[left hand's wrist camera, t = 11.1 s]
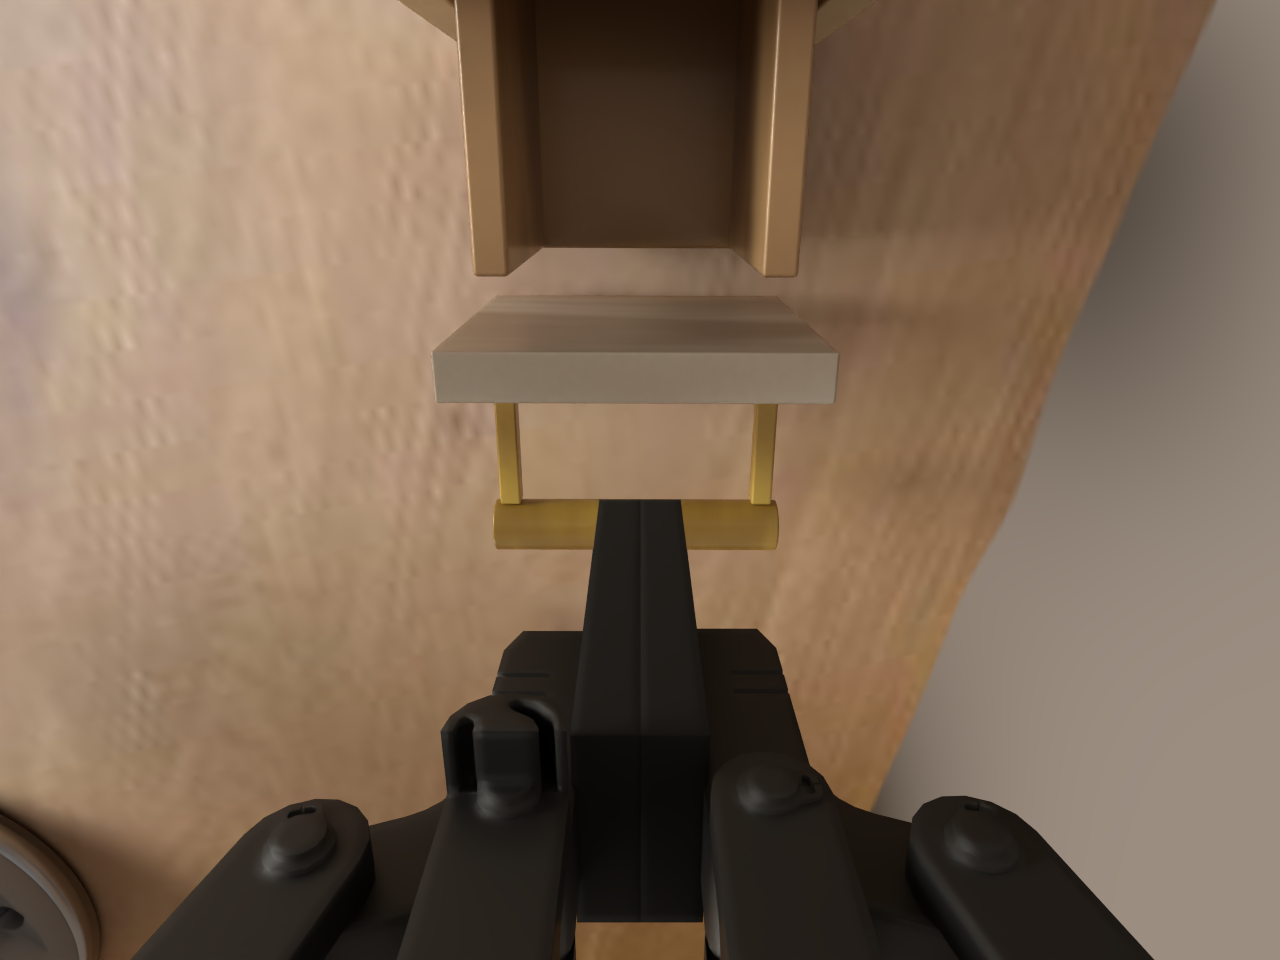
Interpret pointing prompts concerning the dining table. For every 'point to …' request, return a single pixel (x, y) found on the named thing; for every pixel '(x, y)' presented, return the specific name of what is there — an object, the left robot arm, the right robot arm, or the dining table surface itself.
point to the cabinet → (834, 10)
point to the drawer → (635, 227)
